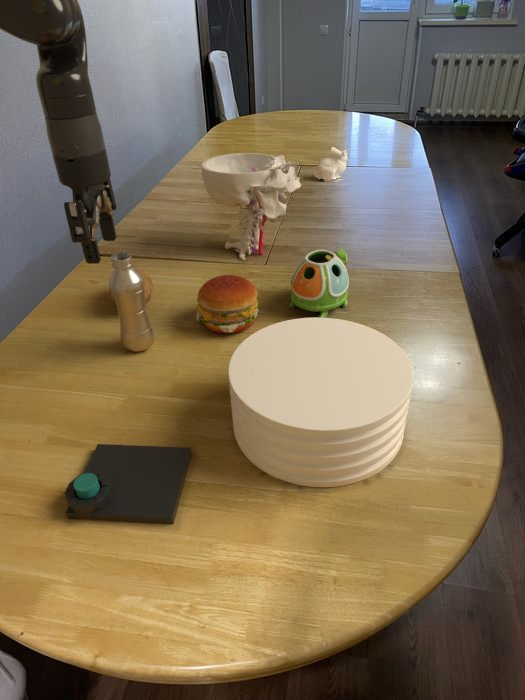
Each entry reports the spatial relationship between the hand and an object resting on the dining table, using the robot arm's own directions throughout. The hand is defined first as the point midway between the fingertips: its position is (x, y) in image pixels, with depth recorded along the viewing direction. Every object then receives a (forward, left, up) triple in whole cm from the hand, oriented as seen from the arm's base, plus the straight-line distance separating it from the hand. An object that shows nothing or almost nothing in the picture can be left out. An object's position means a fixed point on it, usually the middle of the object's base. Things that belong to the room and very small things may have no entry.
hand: (102, 251), depth 84 cm
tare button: (+4, -30, -22) cm, 38 cm away
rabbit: (+42, +115, -25) cm, 125 cm away
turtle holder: (+37, +27, -25) cm, 52 cm away
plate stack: (+36, -12, -25) cm, 45 cm away
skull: (+19, +56, -25) cm, 64 cm away
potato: (-6, +25, -25) cm, 36 cm away
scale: (+9, -27, -25) cm, 38 cm away
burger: (+17, +18, -25) cm, 35 cm away
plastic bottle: (0, +8, -25) cm, 26 cm away
